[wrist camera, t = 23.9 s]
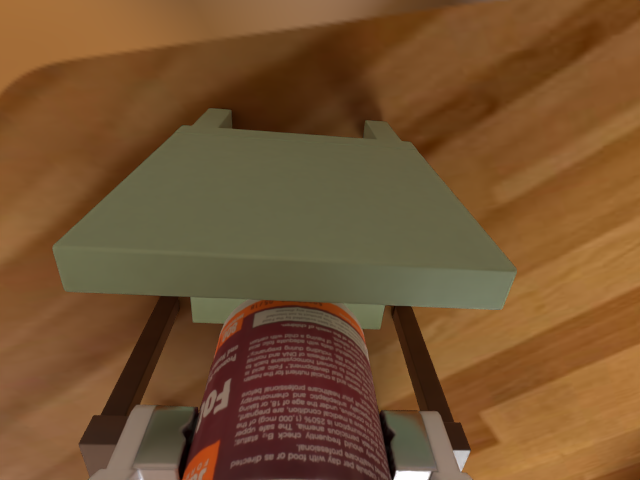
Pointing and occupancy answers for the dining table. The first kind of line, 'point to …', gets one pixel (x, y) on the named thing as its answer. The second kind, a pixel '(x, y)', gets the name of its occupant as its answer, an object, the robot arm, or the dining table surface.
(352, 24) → the dining table surface
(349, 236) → the chair
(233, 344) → the pill bottle
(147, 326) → the toy table
